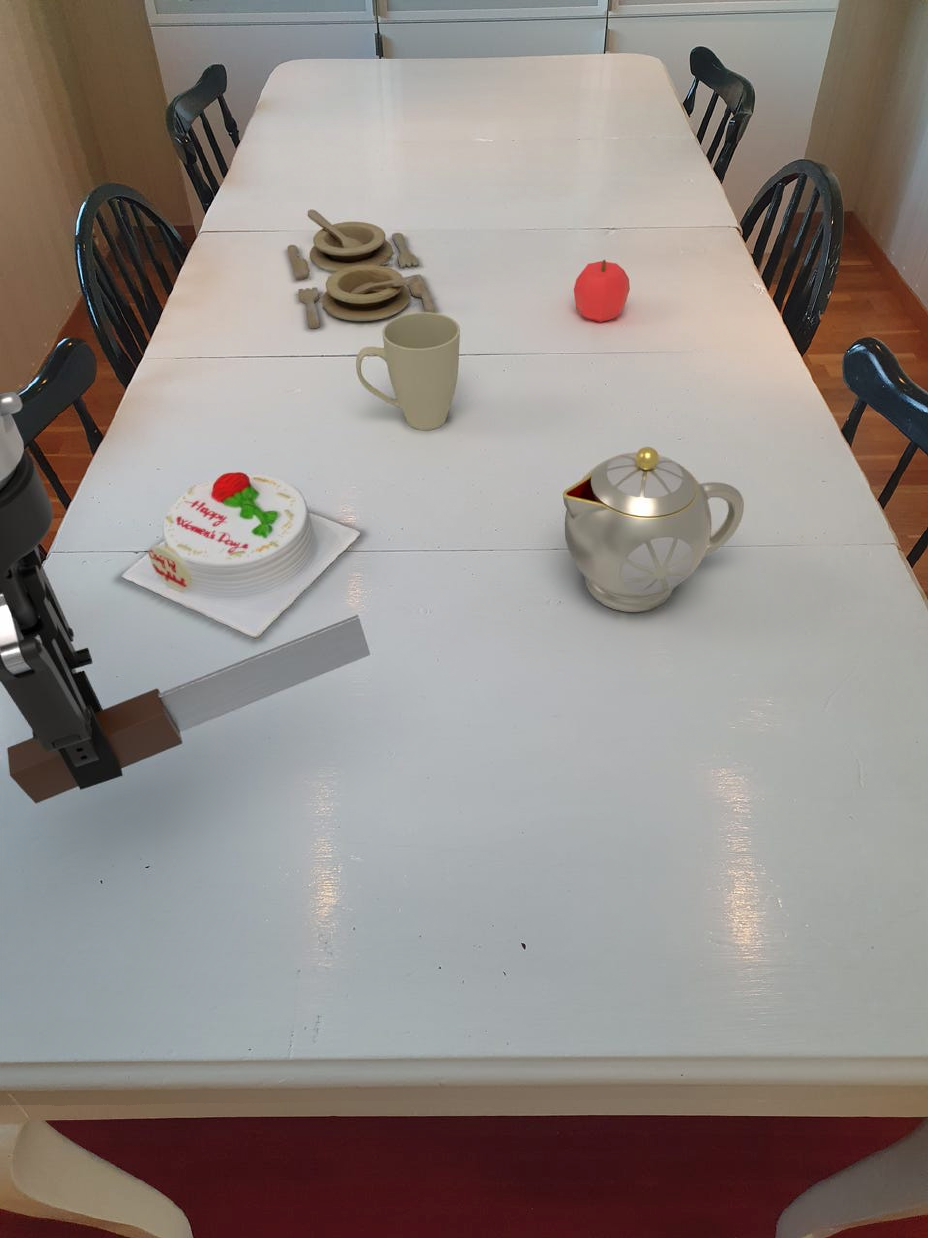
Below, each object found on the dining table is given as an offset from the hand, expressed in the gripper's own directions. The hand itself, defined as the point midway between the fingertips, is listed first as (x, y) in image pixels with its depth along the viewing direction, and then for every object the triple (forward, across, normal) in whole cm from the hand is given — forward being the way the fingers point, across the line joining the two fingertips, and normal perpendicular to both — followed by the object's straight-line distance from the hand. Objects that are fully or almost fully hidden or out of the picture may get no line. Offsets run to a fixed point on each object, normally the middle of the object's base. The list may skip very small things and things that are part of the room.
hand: (97, 760), depth 61 cm
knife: (0, 0, -8) cm, 8 cm away
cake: (+14, +33, -15) cm, 39 cm away
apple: (+14, +63, -75) cm, 99 cm away
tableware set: (+14, +90, -48) cm, 102 cm away
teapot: (+14, +12, -51) cm, 54 cm away
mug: (+14, +49, -41) cm, 65 cm away
